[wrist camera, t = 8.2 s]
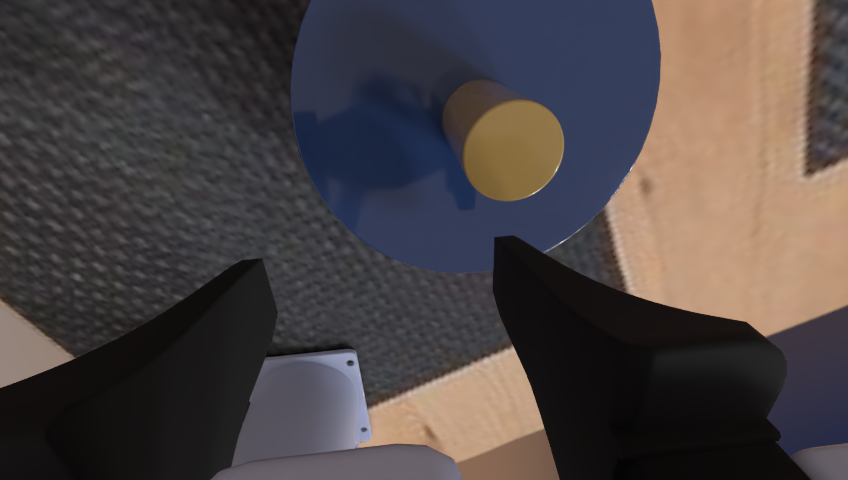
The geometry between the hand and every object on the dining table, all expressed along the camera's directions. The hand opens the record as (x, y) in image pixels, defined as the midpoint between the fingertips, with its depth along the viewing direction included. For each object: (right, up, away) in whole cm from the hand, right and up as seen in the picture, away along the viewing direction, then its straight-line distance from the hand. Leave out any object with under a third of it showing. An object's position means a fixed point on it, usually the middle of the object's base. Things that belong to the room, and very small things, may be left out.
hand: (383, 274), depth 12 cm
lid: (+3, +6, +2) cm, 7 cm away
